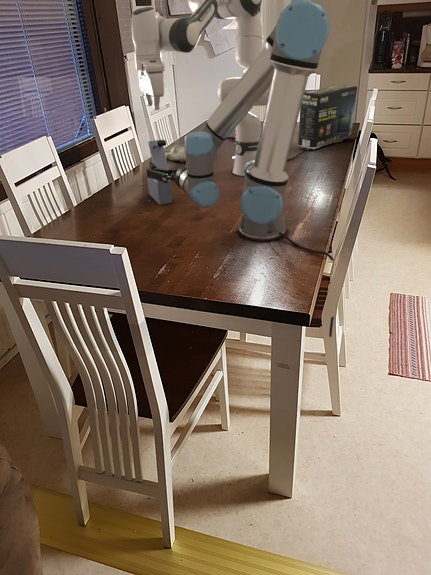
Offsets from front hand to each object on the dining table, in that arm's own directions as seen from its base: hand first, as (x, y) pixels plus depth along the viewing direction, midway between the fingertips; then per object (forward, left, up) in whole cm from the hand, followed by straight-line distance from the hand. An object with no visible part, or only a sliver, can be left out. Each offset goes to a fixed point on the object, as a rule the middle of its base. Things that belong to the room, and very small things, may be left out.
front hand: (170, 163), depth 156 cm
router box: (-17, -118, -19) cm, 121 cm away
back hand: (+13, -10, +16) cm, 22 cm away
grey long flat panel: (+12, -10, -3) cm, 16 cm away
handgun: (+32, -105, -19) cm, 111 cm away
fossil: (+41, -63, -19) cm, 77 cm away
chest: (+15, -12, -19) cm, 27 cm away
